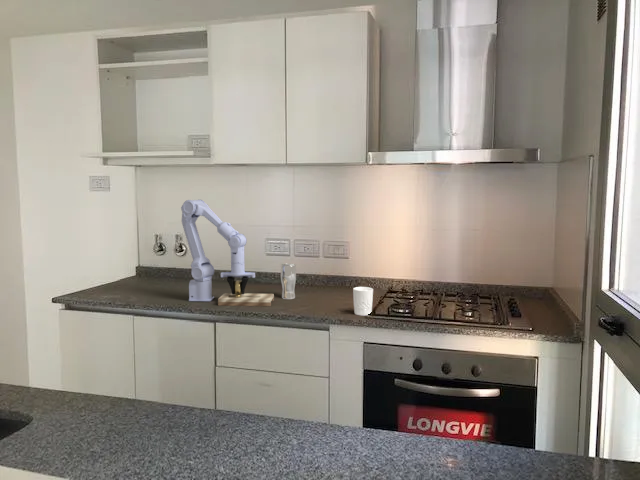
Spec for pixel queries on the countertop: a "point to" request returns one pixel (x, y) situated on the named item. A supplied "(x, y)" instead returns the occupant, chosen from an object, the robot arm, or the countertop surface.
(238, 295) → the brass peg
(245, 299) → the checkered wooden board
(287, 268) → the beer glass
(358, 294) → the white cup
